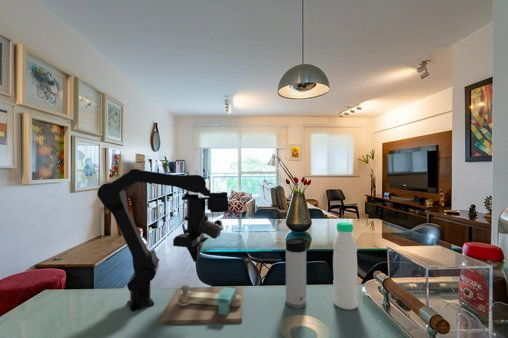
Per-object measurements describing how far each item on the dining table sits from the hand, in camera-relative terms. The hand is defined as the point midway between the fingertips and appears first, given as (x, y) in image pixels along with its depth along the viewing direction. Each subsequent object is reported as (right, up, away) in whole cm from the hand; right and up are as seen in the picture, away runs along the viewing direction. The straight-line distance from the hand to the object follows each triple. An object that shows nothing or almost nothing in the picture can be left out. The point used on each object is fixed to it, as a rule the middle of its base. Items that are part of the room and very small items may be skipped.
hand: (195, 261), depth 82 cm
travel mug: (+32, -12, -3) cm, 35 cm away
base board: (+4, -12, -4) cm, 13 cm away
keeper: (+4, -11, -7) cm, 13 cm away
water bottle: (+47, -12, -4) cm, 49 cm away
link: (+6, -10, -6) cm, 13 cm away
